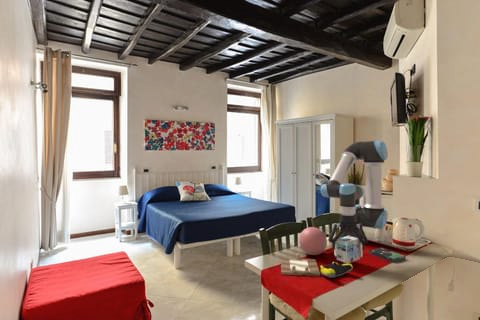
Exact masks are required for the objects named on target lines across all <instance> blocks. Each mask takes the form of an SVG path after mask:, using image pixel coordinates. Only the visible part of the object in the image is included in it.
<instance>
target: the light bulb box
mask: <svg viewBox="0 0 480 320" xmlns="http://www.w3.org/2000/svg"><path fill="white" fill-rule="evenodd" d="M336 244H337V256H336V260H337V261H340V262H343V264H351V263H353V262H356V261H358V260H360V259H361V257H360V240H359V239H358V238H355V237H352V236H346V237H343V238H338V239H337V241H336Z"/></svg>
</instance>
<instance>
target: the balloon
mask: <svg viewBox="0 0 480 320" xmlns="http://www.w3.org/2000/svg"><path fill="white" fill-rule="evenodd" d="M326 235H327V233H325V232H324V231H323V230H321V229H320V228H317V227H315V226H310V227H307V228H304V229H302V231H301V232H300V234H299V237H298V244H299V246H300V248H301V249H300V250H302V251H303V252H304V253H305V254H307V255H310V256H318V255H320V254H323V252H324V251H325V250H326V248H327V246H328V239H327V236H326Z"/></svg>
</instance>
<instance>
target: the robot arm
mask: <svg viewBox="0 0 480 320" xmlns="http://www.w3.org/2000/svg"><path fill="white" fill-rule="evenodd" d="M339 160H340V161H339V162H338V164H337V166H336V168H335V170H334V172H333V174H332V175H331V177H330V179H329V181H328V182H327V183H323V184H322V185H321V187H320V193H321V196H323V197H324V198H332V199H333V198H334V199H339V223H336V222H334V223H333V228H332V230H331V233H330V234H329V237H328V239H327V241H328V242H329V243H331V248H332V250H333V251H334V253H333V254H334V257H337V239H339V238H343V237H346V236H352V237H355V238H358V239H359V240H360V258H363V251H364V250H365V244H368V243H369V239H368V238H367V235H366V233H365V231H364V228H363V227H365V228H369V229H370V228H372V229H378V230H382V229H384V228H385V227H386V224H387V223H388V222H387V221H388V215H389V213H388V211H387V210H386V209H385V206H384V205H383V203H382V166H383V165H384V164H385V161H387V160H388V148H387V145H386V143H385V142H384V141H382V140H371V141H370V140H369V141H366V140H365V141H357V142H356V141H355V142H353V143H350V144H349V145H348V146H347V147H346V148H345V149H343V151H342V153H341V156H340V159H339ZM359 160H362V161H363V164H364V165H365V174H366V175H365V177H366V178H365V190H364V187H362V186H361V185H359V184H354V183H345V181H346V178H347V177H348V174H349V172H350V170H351V168H352V166H353V164H355V163H356V162H357V161H359ZM365 192H366V193H365ZM364 194H365V198H366V199H365V200H366V201H365V204H364V205H363V207H362V205H361V204H356V200H360V199H361V198H362V197H364ZM338 228H340V229H339V231H337V229H338ZM336 232H337V233H336Z"/></svg>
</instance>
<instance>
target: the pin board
mask: <svg viewBox="0 0 480 320" xmlns="http://www.w3.org/2000/svg"><path fill="white" fill-rule="evenodd" d="M300 257H301V256H300V254H299V253H296V258H294V257H280V274H281V275H287V276H302V275H306V277H321V271H320V269H319V266H318V263H317V260H316V259H314V258H313V259H311V258H300Z"/></svg>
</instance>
